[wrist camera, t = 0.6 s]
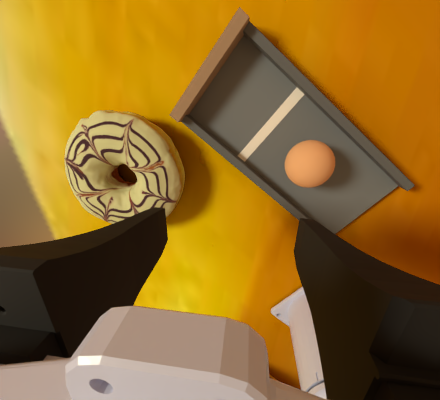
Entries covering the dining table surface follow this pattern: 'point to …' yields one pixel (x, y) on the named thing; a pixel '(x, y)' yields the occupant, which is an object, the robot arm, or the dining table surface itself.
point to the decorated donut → (122, 154)
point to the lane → (281, 128)
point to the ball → (309, 163)
